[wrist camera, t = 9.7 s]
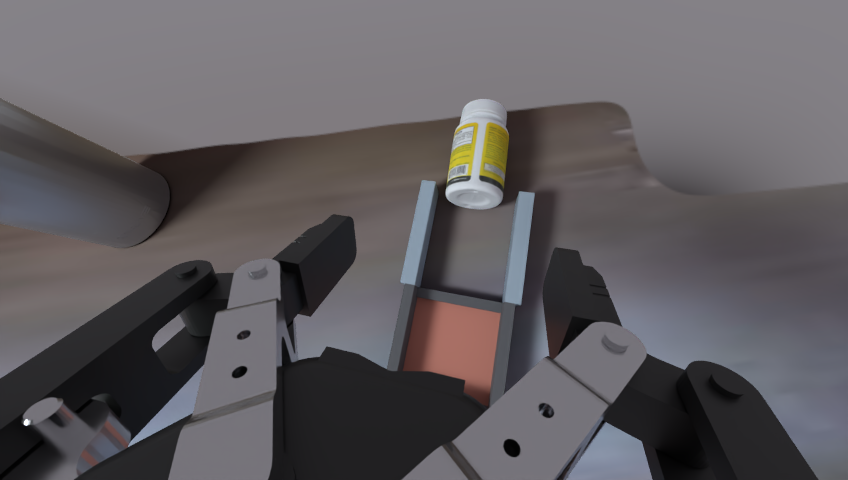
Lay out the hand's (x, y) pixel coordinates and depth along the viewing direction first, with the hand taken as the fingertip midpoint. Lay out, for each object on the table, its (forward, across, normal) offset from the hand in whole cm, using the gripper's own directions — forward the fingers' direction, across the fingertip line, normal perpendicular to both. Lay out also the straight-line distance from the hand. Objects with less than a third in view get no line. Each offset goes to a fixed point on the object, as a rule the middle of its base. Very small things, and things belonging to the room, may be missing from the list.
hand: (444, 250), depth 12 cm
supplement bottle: (+14, 0, +4) cm, 14 cm away
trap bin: (+7, 0, +14) cm, 15 cm away
